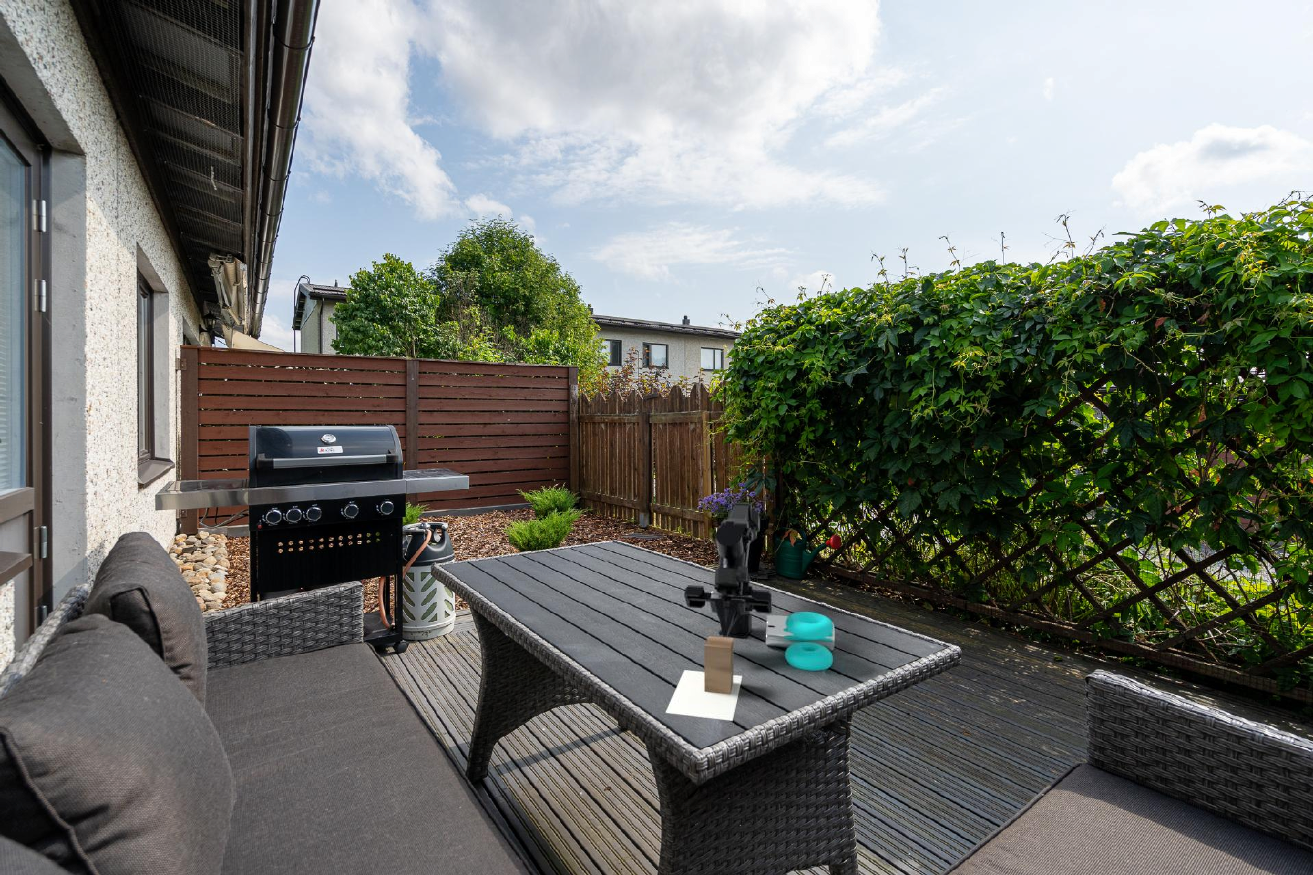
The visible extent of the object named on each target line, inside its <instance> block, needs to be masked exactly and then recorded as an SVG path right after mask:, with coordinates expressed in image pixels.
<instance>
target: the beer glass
mask: <svg viewBox="0 0 1313 875" xmlns="http://www.w3.org/2000/svg"><path fill="white" fill-rule="evenodd" d="M788 616H789V615H769V614H768V615H767V614H766V618H765V619H766V620H765V621H766V622H765V645H767V646H773V647H779V648H786V649H787V648H788V647H789V646H791V645H793V644H795V643H800V642H811V643H816V644H819V645H822V646H824V647H825V648H827V649H828V650H829V651H833V650H834V648H835V637H836V636H835V635H836V634H835V632H836V631H835V624H834V623H835V622H833V621H832V623H833V631H832V633H831V634H830V635H829V636H827V637H825V638H822V639H816V640H811V639H803V638H800V637H797V636H795V635H793V634H792V633H790V632H789V631H788V629H787V628H786V624H785V622H786V619H787V617H788Z"/></svg>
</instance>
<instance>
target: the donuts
mask: <svg viewBox="0 0 1313 875" xmlns="http://www.w3.org/2000/svg"><path fill="white" fill-rule="evenodd" d="M787 616H788V617H787V619H786V622H785V624H786V628H787V629H788V631H789V632H790V633H792V634H793V635H795V636H797V637H800V638H803V639H811V640H816V639H822V638H825V637H827V636H829V635H830V634H831V633H832V631H833V623H834V622H833V621H832V620H831V619H830V618H829V617H827V616H826V615H824V614H821V613H817V612H811V611H799V612H794V613H791V614H790V615H787ZM832 622H833V623H832ZM784 657H785V660H786V661H787V663H788V664H789V665H790V666H792V667H794V668H796V669H799V670H804V671H810V672H811V671H812V672H813V671H815V672H816V671H825V670H827V669H829V668H830V667H831V666H832V665H833V664H834V663H833V662H834V658H833V654H832V653H831V650H830V649H827V648H825V647H824V646H822V645H819V644H816V643H811V642H800V643H795V644H793V645H791V646H789V647H788V648H786V650H785V653H784Z"/></svg>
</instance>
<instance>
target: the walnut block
mask: <svg viewBox="0 0 1313 875" xmlns="http://www.w3.org/2000/svg"><path fill="white" fill-rule="evenodd" d="M703 656H704V658H703V659H704V661H703V662H704V663H703V664H704V671H703V672H704V692H712V693H721V694H731V690H732V686H733V675H734V637H733V638H732V637H723V636H710V635H709V636H707V639H706V642H705V644H704V655H703Z"/></svg>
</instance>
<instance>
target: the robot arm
mask: <svg viewBox="0 0 1313 875" xmlns="http://www.w3.org/2000/svg"><path fill="white" fill-rule="evenodd" d="M760 528H761V520H760V514H759V512H758V511H757V510H756V509H754V508H753V507H752V504H751V503H749V502H735V503H732V506H731V509H730V510H728V517H727V519H723V521H722V522H721V523H720V525H719V526H718V527H717V529H716V532H715V534H714V538H715V542H716V546H717V548H716V549H717V554H718V555H719V561H718V567H716V568H715V570H714V587H713V588H714V590H715V591H711V592H709V591H708V592H705V588H704V585H695V584H692V585H691V584H688V585H687V586H686V587H685V588H684V594H683V596H684V600H685V603H686V606H687V607H688V608H692V609H703V607H705V606H706V602H709V605H710V609H711V612H712V613H714V614H716V615H717V618H718V620H719V624H720V630H719V631H718V634H719V635H722V637H724V638H728V636H729V637H733V638H734V637H735V638H740V639H745V638H746V637H747V636H748V635H749V634H750V632H752V631H753V626H752V624H753V623H752V622H753V620H752V619H753V614H752V613H750V612H753V611H755V612H756V613H757V614H766V615H767V614H768V615H769V614H772V612H773V597H772V592H770V590H765V589H754V588H753V585H751V577H750V573H749V570H748V560H749V550H750V544H751V543H752V542H754V541H755V540H757V537H758V536H757V535H758V532H760Z"/></svg>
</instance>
